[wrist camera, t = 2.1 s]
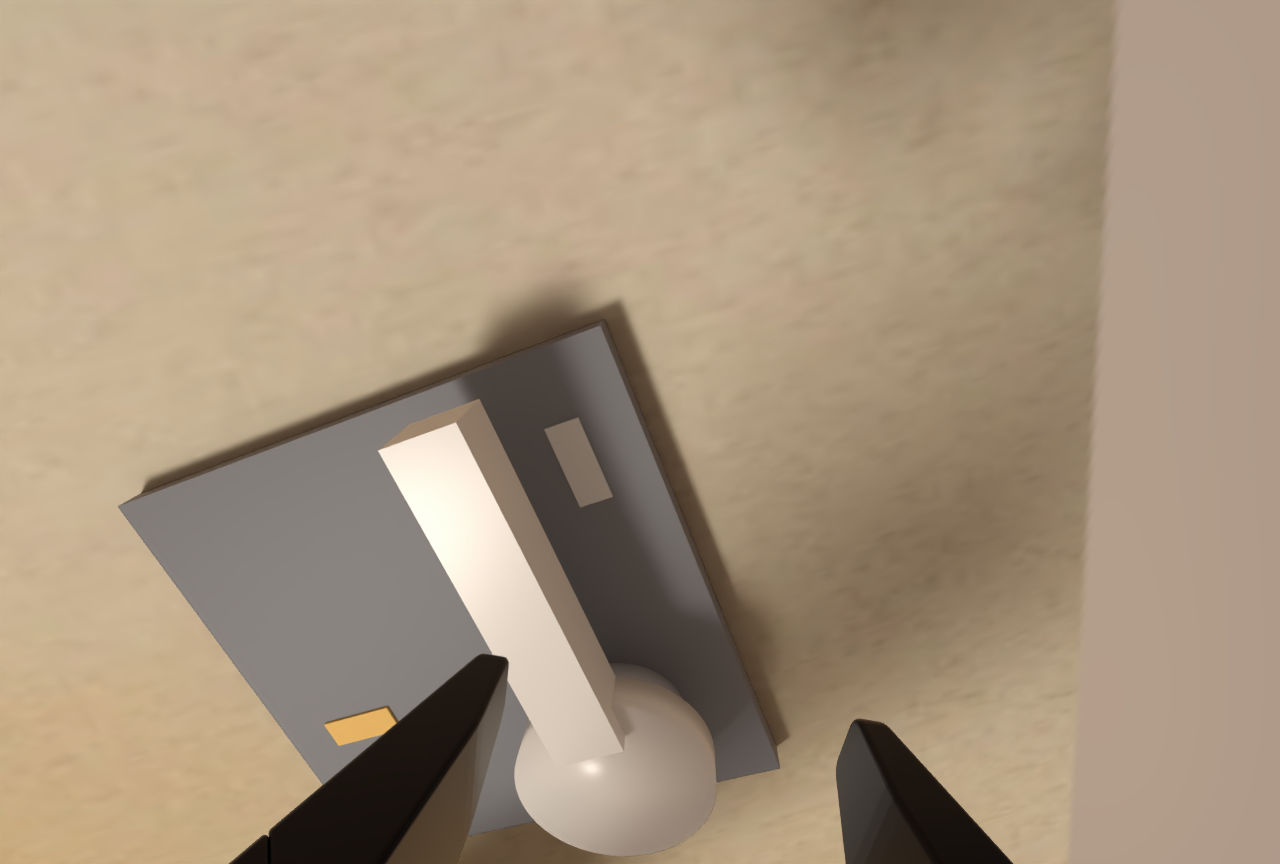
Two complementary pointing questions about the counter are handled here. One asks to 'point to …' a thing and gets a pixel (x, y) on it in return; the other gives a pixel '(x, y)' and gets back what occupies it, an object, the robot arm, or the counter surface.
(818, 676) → the counter surface
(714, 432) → the counter surface
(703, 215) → the counter surface
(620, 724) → the lever switch
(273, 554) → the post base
